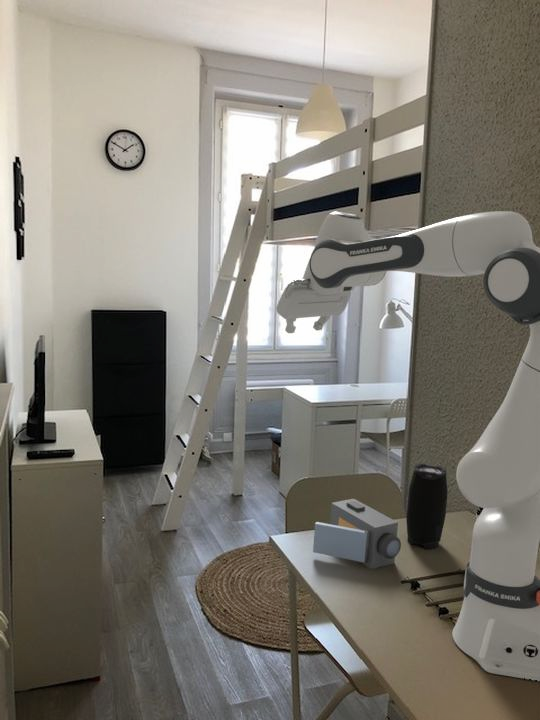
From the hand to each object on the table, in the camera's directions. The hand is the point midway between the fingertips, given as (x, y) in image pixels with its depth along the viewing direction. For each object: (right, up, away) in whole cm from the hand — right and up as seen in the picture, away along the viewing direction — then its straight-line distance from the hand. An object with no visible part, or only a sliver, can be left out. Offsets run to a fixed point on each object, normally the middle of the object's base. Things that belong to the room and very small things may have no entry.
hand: (303, 330), depth 147 cm
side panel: (+8, -53, -6) cm, 53 cm away
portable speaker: (+31, -53, +7) cm, 62 cm away
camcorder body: (+14, -53, -1) cm, 55 cm away
